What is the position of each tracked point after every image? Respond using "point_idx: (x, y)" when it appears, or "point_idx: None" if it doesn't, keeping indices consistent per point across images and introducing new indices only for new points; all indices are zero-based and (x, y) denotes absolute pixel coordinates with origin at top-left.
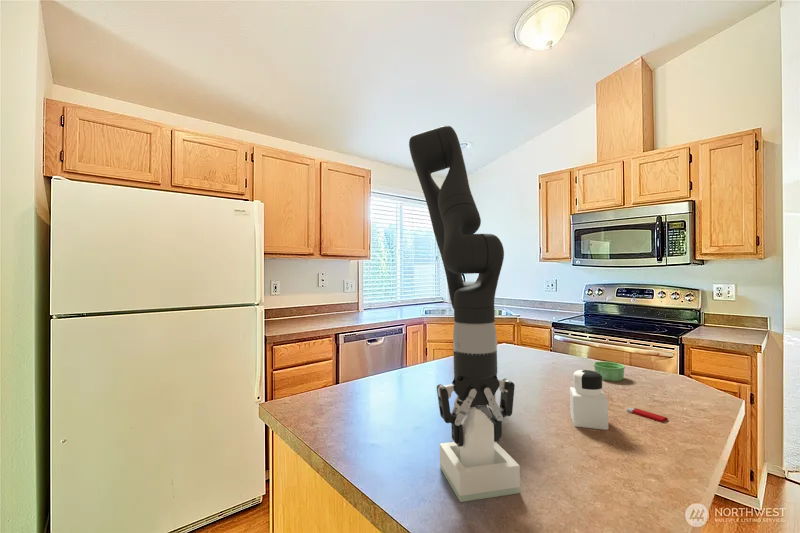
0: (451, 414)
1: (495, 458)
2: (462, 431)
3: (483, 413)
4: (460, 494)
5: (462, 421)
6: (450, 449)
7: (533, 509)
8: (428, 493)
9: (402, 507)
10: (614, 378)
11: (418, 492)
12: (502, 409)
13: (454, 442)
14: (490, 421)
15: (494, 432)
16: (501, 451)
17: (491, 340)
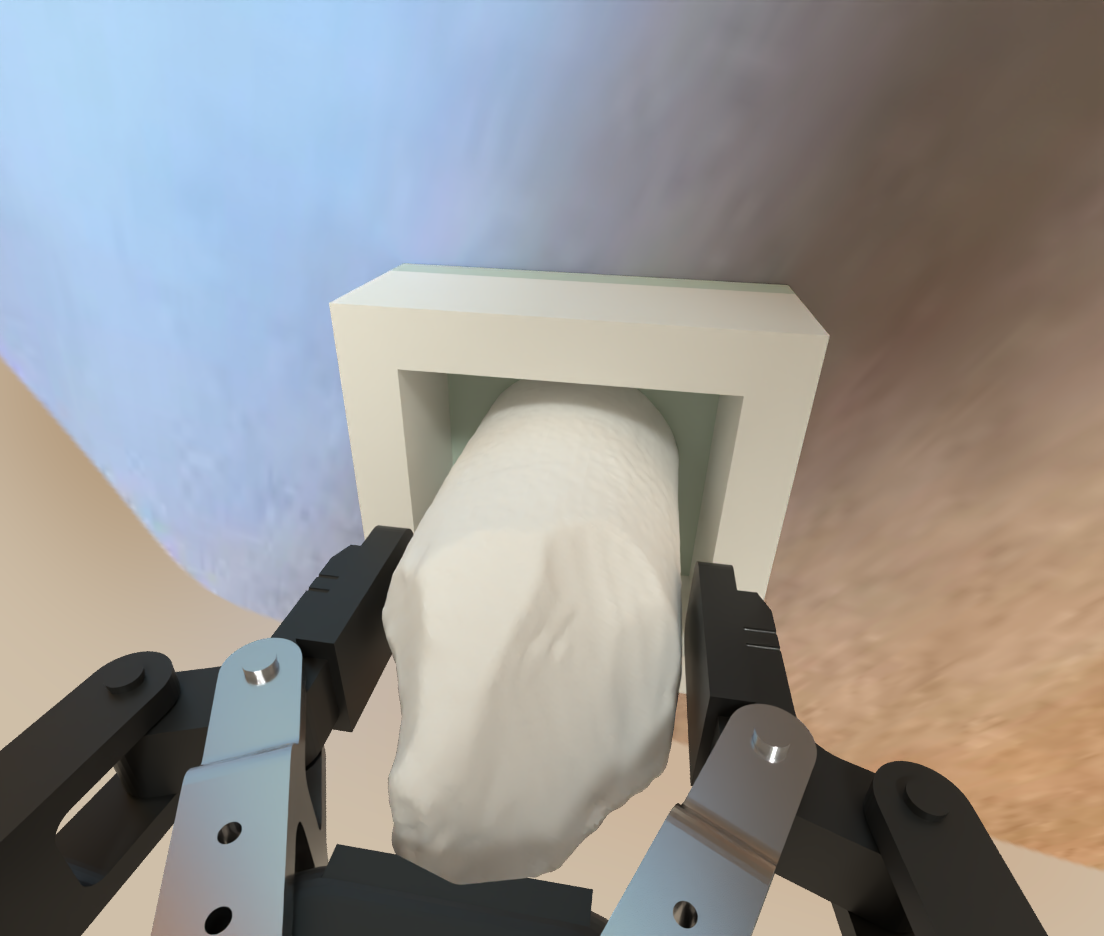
0: (199, 757)
1: (715, 483)
2: (370, 691)
3: (546, 869)
4: None
5: (407, 591)
6: (394, 416)
7: None
8: (303, 466)
9: (191, 512)
10: None
11: (258, 445)
12: (836, 886)
13: (455, 323)
14: (633, 791)
15: (689, 674)
16: (744, 554)
17: None
